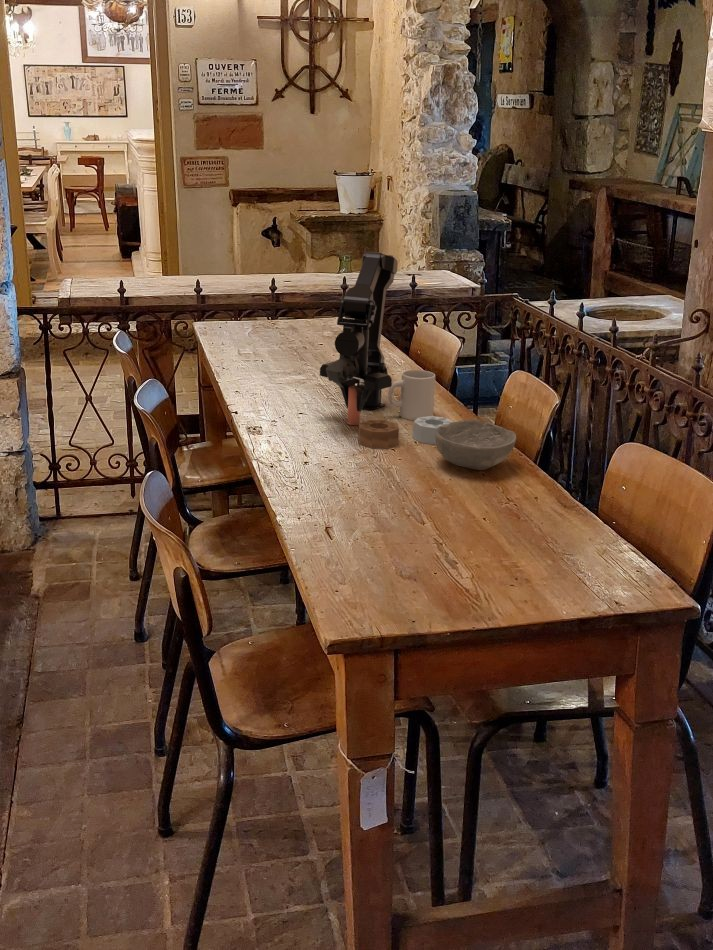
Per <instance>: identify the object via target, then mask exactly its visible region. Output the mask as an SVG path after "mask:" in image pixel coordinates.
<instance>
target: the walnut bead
mask: <svg viewBox="0 0 713 950" xmlns="http://www.w3.org/2000/svg"><path fill="white" fill-rule="evenodd" d="M398 424H399V423H396V422H393V421H389V420H386V419H369V420H368V419H367V420H364V421H360V423H359V424H358V444H359V445H360V446H364V447H367V448H371V449H389V448H393V447H396V446H399V436H400V427H399V425H398Z"/></svg>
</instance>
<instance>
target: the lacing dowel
mask: <svg viewBox="0 0 713 950" xmlns="http://www.w3.org/2000/svg"><path fill="white" fill-rule="evenodd" d="M346 423H347V425H350V426H359V423H361V411H359V412H358V411H357V391H356V389H355V388H354V386H350V387H349V392H348V408H347V422H346Z"/></svg>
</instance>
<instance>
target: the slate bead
mask: <svg viewBox="0 0 713 950" xmlns="http://www.w3.org/2000/svg"><path fill="white" fill-rule="evenodd" d="M453 422H454V421H453V420H451V419H449V418H447V417H441V416H434V415H433V416H427V417H419V418H417V419H416V420H413V429H412V439H413V440H416V441H417V442H419V443H422V444H428V445H435V446H436V441H435V434H436V429H437V428H438V427H440V426H444V425H446V424H450V423H453Z"/></svg>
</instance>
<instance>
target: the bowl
mask: <svg viewBox="0 0 713 950" xmlns="http://www.w3.org/2000/svg"><path fill="white" fill-rule="evenodd" d="M435 441H436V445H435V447H436V449H437V451H438V452H439V454H440V455H441V456H442V457H443V458H444V459H445V460H447V461H448V462H449V463H452V464H453V465H455V466H459V467H462V468H466V469H472V470H476V471H485V470H488V469H489V468H490V469H491V468H493V467H494V466H496V465H499V464H502V463H503V462H504V460H506V459H507V458H508V457H509V455H510V454H511V453H512V451H513V450H514V447H515V445H516V442H517V435H516V432H515V431H513V430H510V429H509V430H508V429H507V428H505V427H502V426H499V425H496V424H494V423H489V422H484V421H482V420H477V419H462V420H458V421H453V423H450V424H446V425H444V426H440V427H438V428H437V429H436V434H435Z"/></svg>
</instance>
